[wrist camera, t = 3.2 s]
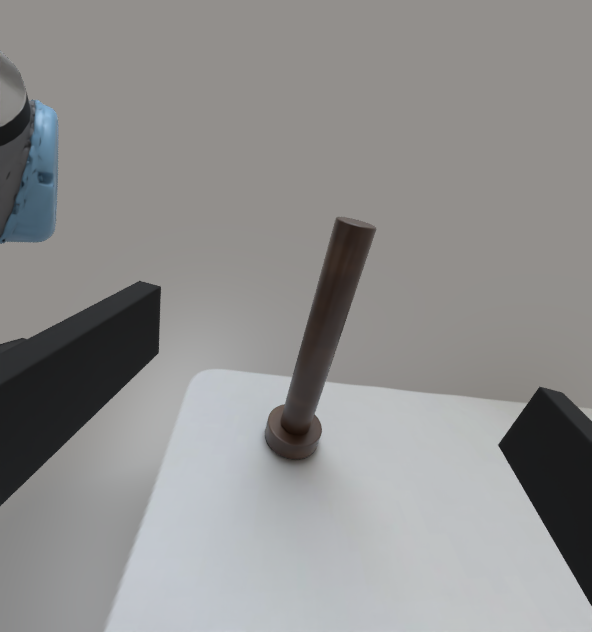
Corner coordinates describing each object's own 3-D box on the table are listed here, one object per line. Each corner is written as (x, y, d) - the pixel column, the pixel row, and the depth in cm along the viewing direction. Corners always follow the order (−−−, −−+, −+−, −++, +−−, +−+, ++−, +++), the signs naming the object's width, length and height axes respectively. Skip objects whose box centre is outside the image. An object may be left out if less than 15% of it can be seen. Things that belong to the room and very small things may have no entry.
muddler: (259, 450, 24) (316, 217, 16) (271, 410, 27) (321, 208, 20) (315, 466, 23) (400, 238, 16) (319, 424, 27) (388, 226, 20)
